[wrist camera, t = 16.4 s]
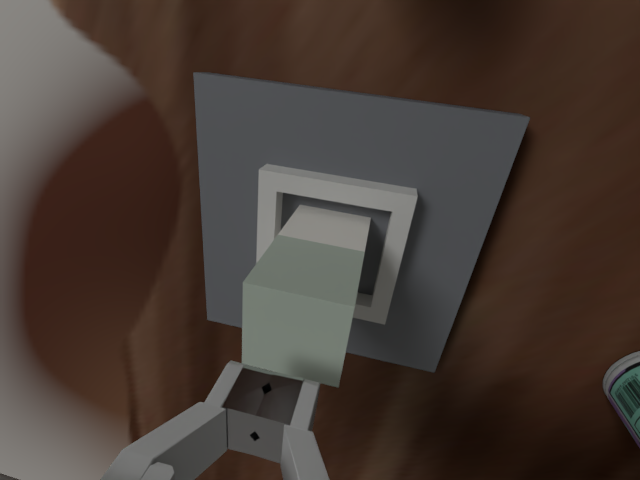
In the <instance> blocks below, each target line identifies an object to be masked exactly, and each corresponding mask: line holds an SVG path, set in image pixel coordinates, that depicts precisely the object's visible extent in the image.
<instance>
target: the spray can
mask: <svg viewBox="0 0 640 480" xmlns="http://www.w3.org/2000/svg"><path fill="white" fill-rule="evenodd" d="M603 389H604V392H605V394H606V396H607V398H608V400H609V401H610V403H611V404H612V406H613V407H614V409H615V410H616V412H617V414H618V415H619V417H620V418H621V420H622V421H623V423H624V424H625V426H626V428H627V429H628V431H629V432H630V434H631V435H632V437H633V438H634V440H635V442H636V443H637V445H638V446H639V448H640V351H638V352H635V353H632V354H630V355H627V356H625V357H623V358H622V359H620V360H618V361H617V362H615V363H614V364H613V365H612V366H611V367H610V368H609V369H608V371H607V372H606V374H605V376H604V379H603Z"/></svg>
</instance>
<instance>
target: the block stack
mask: <svg viewBox="0 0 640 480" xmlns="http://www.w3.org/2000/svg"><path fill="white" fill-rule="evenodd" d="M370 220H371V218H370V217H365V216H359V215H354V214H349V213H343V212H338V211H332V210H327V209H321V208H316V207H311V206H305V205H299V207H298V208H297V209H296V211H295V212H294V213H293V215H292V216H291V217H290V219H289V220H288V221H287V223H286V224H285V226H284V227H283V228H282V230H281V231H280V232H279V234H278V235H277V236H276V238H275V239H274V241H273V242H272V243H271V245H270V246H269V247H268V249H267V250H266V251H265V253H264V254H263V255H262V257H261V258H260V260H259V261H258V262H257V264H256V265H255V266H254V268H253V269H252V270H251V272H250V273H249V275H248V276H247V277H246V279H245V280H244V281H243V309H242V364H246V365H250V366H254V367H258V368H262V369H266V370H270V371H274V372H278V373H282V374H287V375H291V376H295V377H300V378H304V379H307V380H311V381H315V382H319V383H322V384H326V385H330V386H334V387H339V382H340V377H341V372H342V368H343V363H344V358H345V353H346V348H347V343H348V338H349V333H350V328H351V323H352V318H353V313H354V308H355V303H356V297H357V292H358V286H359V281H360V275H361V270H362V264H363V259H364V253H365V248H366V242H367V237H368V231H369V226H370Z"/></svg>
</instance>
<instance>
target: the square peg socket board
mask: <svg viewBox="0 0 640 480" xmlns="http://www.w3.org/2000/svg"><path fill="white" fill-rule="evenodd" d="M194 91H195V109H196V127H197V144H198V162H199V180H200V198H201V215H202V233H203V251H204V268H205V286H206V304H207V320H211V321H215V322H219V323H223V324H228V325H232V326H236V327H241V328H242V309H243V281H244V280H245V279H246V277H247V276H248V275H249V273H250V272H251V270H252V269H253V268H254V266H255V265H256V264H257V262H258V261H259V260H260V258H261V257H262V255H263V254H264V253H265V251H266V250H267V249H268V247H269V246H270V245H271V243H272V242H273V241H274V239H275V238H276V236H277V235H278V234H279V232H280V231H281V230H282V228H283V227H284V226H285V224H286V223H287V221H288V220H289V219H290V217H291V216H292V215H293V213H294V212H295V211H296V209H297V208H298V207H299V205H305V206H311V207H316V208H321V209H327V210H332V211H338V212H343V213H349V214H354V215H359V216H365V217H370V218H371V220H370V226H369V231H368V237H367V242H366V248H365V253H364V259H363V264H362V270H361V275H360V281H359V286H358V292H357V297H356V303H355V308H354V313H353V318H352V323H351V328H350V333H349V338H348V343H347V348H346V352H348V353H352V354H356V355H360V356H365V357H369V358H373V359H377V360H382V361H386V362H390V363H395V364H399V365H403V366H407V367H412V368H416V369H420V370H425V371H429V372H433V373H435V370H436V367H437V365H438V362H439V359H440V357H441V354H442V351H443V349H444V346H445V343H446V341H447V338H448V335H449V333H450V330H451V327H452V325H453V322H454V319H455V317H456V314H457V311H458V309H459V306H460V303H461V301H462V298H463V295H464V293H465V290H466V287H467V285H468V282H469V279H470V277H471V274H472V271H473V269H474V266H475V263H476V261H477V258H478V255H479V253H480V250H481V247H482V245H483V242H484V239H485V237H486V234H487V231H488V229H489V226H490V223H491V221H492V218H493V215H494V213H495V210H496V207H497V205H498V202H499V199H500V197H501V194H502V191H503V189H504V186H505V183H506V181H507V178H508V175H509V173H510V170H511V167H512V165H513V162H514V159H515V157H516V154H517V151H518V149H519V146H520V143H521V141H522V138H523V135H524V133H525V130H526V127H527V125H528V122H529V119H530V117H527V116H524V115H521V114H517V113H509V112H502V111H494V110H486V109H479V108H471V107H464V106H456V105H449V104H441V103H434V102H426V101H419V100H411V99H404V98H396V97H389V96H381V95H374V94H366V93H359V92H351V91H344V90H336V89H329V88H321V87H314V86H306V85H298V84H291V83H283V82H276V81H268V80H261V79H253V78H246V77H238V76H231V75H223V74H216V73H208V72H202V73H194Z"/></svg>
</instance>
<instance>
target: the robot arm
mask: <svg viewBox="0 0 640 480" xmlns="http://www.w3.org/2000/svg"><path fill="white" fill-rule="evenodd" d="M319 390H320V383H319V382H315V381H311V380H307V379H304V378H300V377H295V376H291V375H287V374H282V373H278V372H272V371H268V370H264V369H261V368H257V367H254V366H250V365H246V364H242V363H238V362H235V361H230V362H229V363H228V364H227V365H226V367H225V368H224V370H223V372H222V373H221V375H220V377H219V379H218V380H217V382H216V384H215V385H214V387H213V389H212V390H211V392H210V394H209V396H208V397H207V399H206V401H205V402H204V403H203V402H199V403H197V404H195V405H194V406H192V407H191V408H189V409H187V410H186V411H184V412H182V413H181V414H179V415H178V416H176V417H174V418H173V419H171V420H169V421H168V422H166V423H165V424H163V425H161V426H160V427H158V428H156V429H155V430H153V431H152V432H150V433H148V434H147V435H145V436H143V437H142V438H140V439H139V440H137V441H135V442H134V443H132V444H130V445H129V446H127V447H126V448H124V449H122V451H121V452H120V454H119V455H118V456H117V458H116V459H115V460H114V462H113V463H112V464H111V466H110V467H109V468H108V470H107V471H106V473H105V474H104V475H103V477H102V478H101V479H100V480H194V479H195V478H197V477H198V476H199V475H200V474H201V473H202V472H203V471H204V470H206V469H207V468H208V467H209V466H210V465H211V464H212V463H213V462H215V461H216V460H217V459H218V458H219V457H220V456H221V455H222V454H224V453H225V452H226V451H227V449H231V450H235V451H239V452H243V453H247V454H251V455H255V456H258V457H261V458H265V459H268V460H271V461H274V462H277V463H281V470H282V475H283V480H329V477H328V474H327V471H326V468H325V465H324V463H323V460H322V457H321V454H320V451H319V448H318V445H317V442H316V439H315V436H314V433H313V432H312V428H313V424H314V418H315V413H316V408H317V402H318V396H319ZM0 480H19V479H16V478H13V477H10V476H7V475H4V474H0Z"/></svg>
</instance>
